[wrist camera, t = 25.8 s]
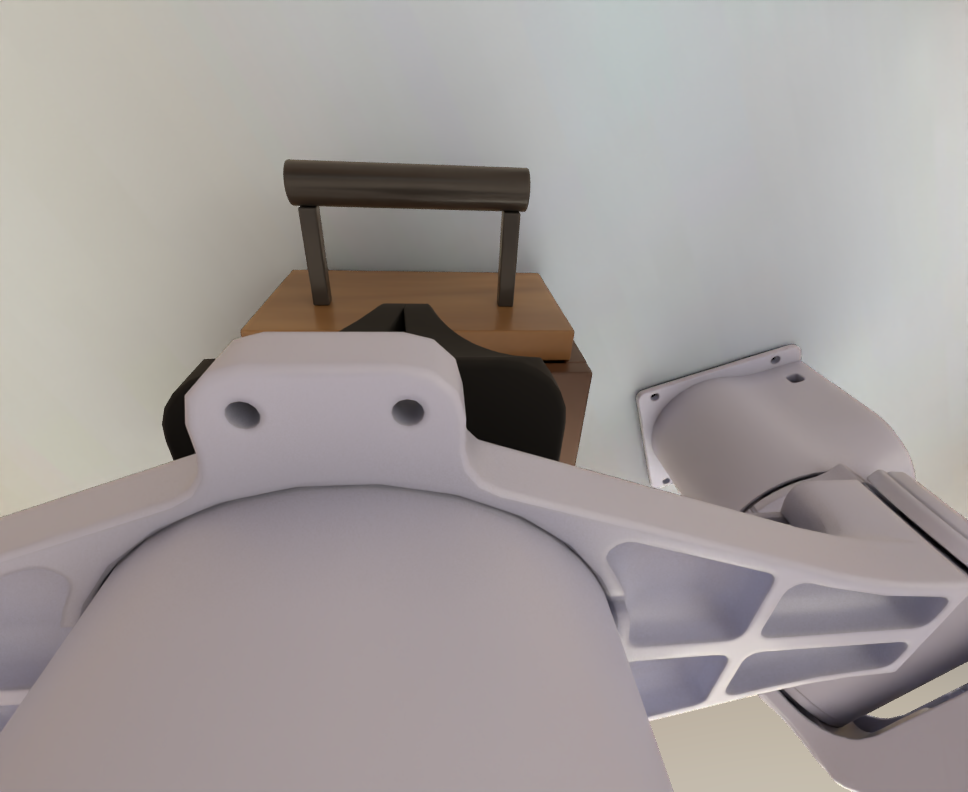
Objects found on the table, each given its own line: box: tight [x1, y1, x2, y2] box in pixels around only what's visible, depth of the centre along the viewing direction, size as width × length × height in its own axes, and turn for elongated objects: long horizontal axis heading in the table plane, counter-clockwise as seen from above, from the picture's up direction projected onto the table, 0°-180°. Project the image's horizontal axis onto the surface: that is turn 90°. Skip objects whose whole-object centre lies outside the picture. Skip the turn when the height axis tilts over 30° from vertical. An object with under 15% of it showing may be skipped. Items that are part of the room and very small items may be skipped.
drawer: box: [241, 159, 574, 360], centre depth 21 cm, size 18×11×7 cm, turn 178°
